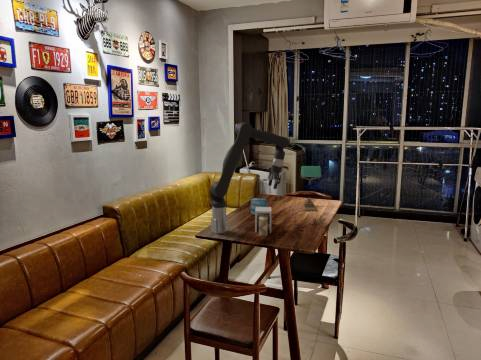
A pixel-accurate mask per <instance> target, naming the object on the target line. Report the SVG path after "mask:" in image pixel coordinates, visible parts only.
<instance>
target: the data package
mask: <svg viewBox="0 0 481 360" xmlns="http://www.w3.org/2000/svg"><path fill="white" fill-rule="evenodd" d="M256 207H268V200H267V199H266V198H255V197H254V198H252V199H251V200H250V214H251V215H254V216H255V209H256ZM259 214H267V213H257V215H259Z"/></svg>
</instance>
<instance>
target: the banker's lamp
mask: <svg viewBox="0 0 481 360" xmlns="http://www.w3.org/2000/svg"><path fill="white" fill-rule="evenodd" d="M300 168H301V169H300V178H301V179H304V180H308V183H309V184H311V182H312V180H316V179H320V178H322V168H321V166H320V165H317V166H316V165H303V166H301V167H300ZM303 208H304V210H305V212H310V211H312V212H313V211H316V212H317V209H316V205H315V203H314V201H312V199H311V198H308V199H307V200H306V201H304V203H303Z"/></svg>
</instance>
